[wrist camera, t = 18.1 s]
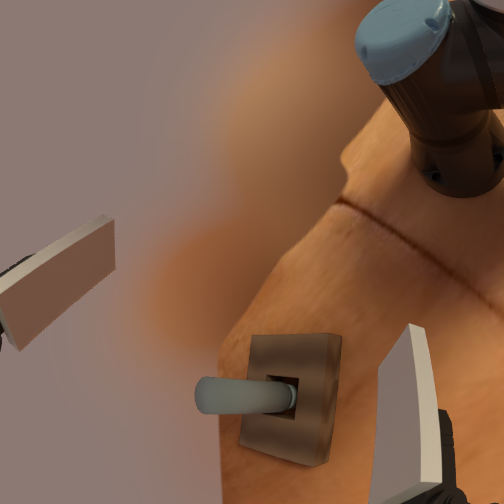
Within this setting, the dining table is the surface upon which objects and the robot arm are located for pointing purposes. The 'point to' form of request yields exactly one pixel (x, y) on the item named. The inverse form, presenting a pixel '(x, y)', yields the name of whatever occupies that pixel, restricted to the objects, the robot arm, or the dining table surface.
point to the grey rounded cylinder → (243, 396)
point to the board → (308, 399)
